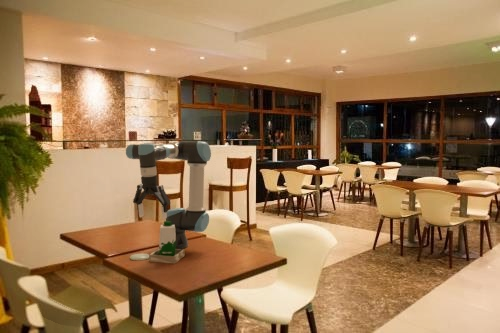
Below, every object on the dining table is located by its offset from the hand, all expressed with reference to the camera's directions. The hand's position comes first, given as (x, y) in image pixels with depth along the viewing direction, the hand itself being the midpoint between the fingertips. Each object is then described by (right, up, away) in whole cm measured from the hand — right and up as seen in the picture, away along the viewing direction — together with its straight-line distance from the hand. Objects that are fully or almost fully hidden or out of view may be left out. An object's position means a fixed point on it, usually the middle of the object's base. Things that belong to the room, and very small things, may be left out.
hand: (153, 217), depth 189 cm
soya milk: (+2, -26, +22) cm, 34 cm away
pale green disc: (-13, -25, +23) cm, 36 cm away
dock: (+2, -25, +22) cm, 34 cm away
